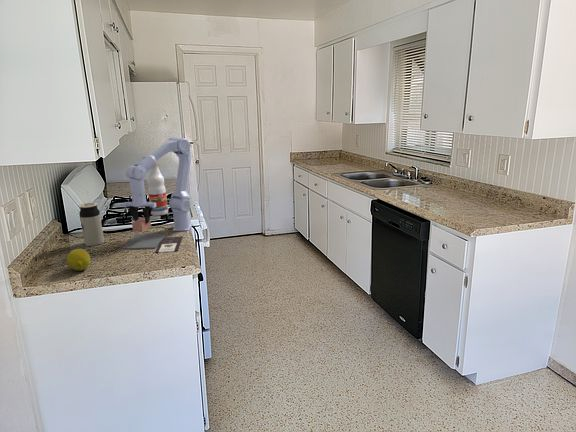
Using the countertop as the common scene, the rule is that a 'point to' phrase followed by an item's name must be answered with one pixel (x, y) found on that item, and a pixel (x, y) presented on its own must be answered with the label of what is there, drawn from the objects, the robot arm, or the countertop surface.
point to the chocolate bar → (169, 244)
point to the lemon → (78, 259)
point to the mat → (145, 241)
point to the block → (140, 225)
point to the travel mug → (91, 224)
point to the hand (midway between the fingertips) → (142, 222)
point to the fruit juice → (157, 191)
